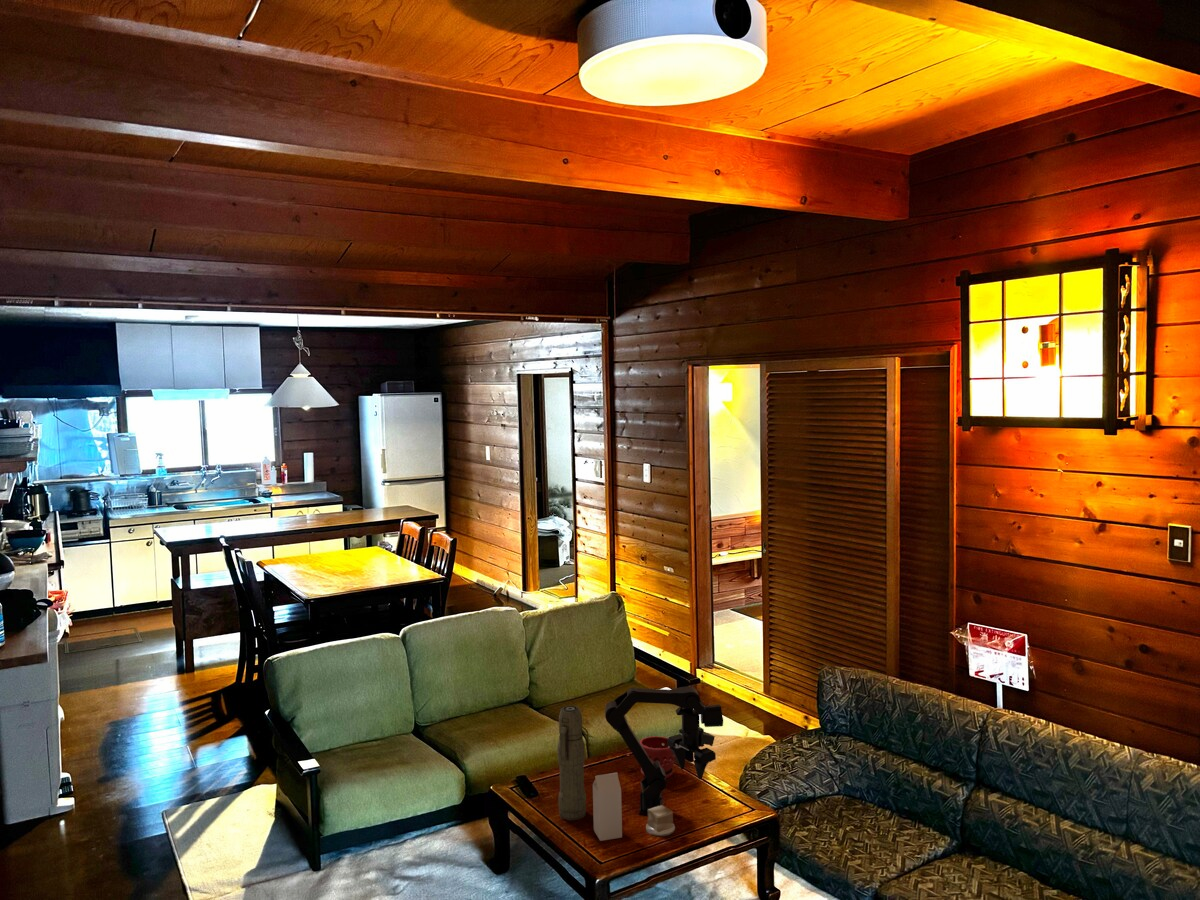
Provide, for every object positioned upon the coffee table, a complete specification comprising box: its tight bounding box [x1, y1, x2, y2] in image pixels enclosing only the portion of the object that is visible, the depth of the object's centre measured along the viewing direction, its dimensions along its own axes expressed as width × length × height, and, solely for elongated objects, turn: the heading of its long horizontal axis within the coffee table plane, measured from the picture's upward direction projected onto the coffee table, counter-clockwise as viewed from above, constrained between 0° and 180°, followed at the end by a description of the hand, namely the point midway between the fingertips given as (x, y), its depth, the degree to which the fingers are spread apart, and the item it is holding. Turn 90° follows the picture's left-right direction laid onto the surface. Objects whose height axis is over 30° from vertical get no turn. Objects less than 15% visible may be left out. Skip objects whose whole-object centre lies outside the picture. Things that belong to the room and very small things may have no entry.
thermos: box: [557, 705, 587, 821], centre depth 287 cm, size 9×12×35 cm
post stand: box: [645, 822, 676, 837], centre depth 277 cm, size 9×9×4 cm
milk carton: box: [592, 772, 623, 842], centre depth 274 cm, size 7×7×19 cm
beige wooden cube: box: [647, 804, 674, 832], centre depth 277 cm, size 6×6×5 cm
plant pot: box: [639, 735, 676, 779], centre depth 317 cm, size 13×13×12 cm
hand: (691, 774), depth 289 cm, fingers open, 9 cm apart
